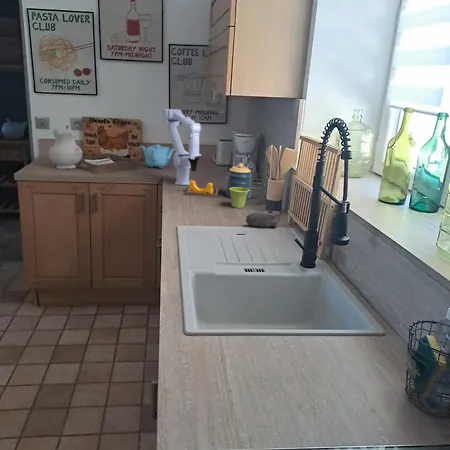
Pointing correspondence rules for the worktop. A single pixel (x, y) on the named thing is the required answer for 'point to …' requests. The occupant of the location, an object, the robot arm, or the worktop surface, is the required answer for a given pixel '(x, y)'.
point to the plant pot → (238, 196)
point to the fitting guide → (202, 193)
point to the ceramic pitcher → (65, 149)
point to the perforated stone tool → (263, 218)
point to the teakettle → (157, 155)
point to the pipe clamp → (195, 189)
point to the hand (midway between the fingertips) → (193, 171)
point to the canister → (239, 179)
